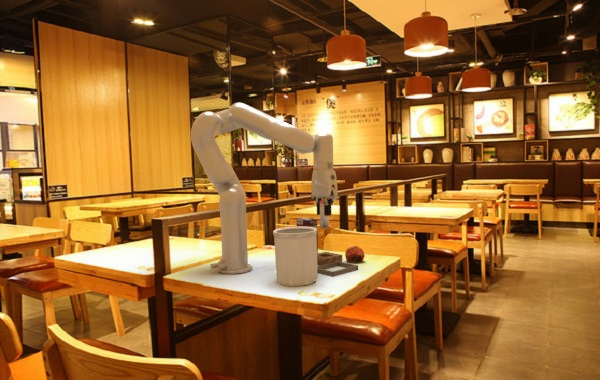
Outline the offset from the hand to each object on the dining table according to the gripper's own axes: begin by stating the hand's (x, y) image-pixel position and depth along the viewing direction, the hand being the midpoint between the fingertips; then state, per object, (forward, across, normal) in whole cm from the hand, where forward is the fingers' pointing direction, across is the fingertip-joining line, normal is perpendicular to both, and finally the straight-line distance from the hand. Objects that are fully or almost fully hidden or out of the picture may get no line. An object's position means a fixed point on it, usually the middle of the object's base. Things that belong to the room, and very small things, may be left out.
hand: (324, 214), depth 170 cm
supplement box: (+20, +18, -7) cm, 28 cm away
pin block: (+20, 0, 0) cm, 20 cm away
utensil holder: (+20, -8, +22) cm, 30 cm away
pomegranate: (+20, -7, -9) cm, 23 cm away
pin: (+5, 0, 0) cm, 5 cm away
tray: (+20, -11, +6) cm, 23 cm away
